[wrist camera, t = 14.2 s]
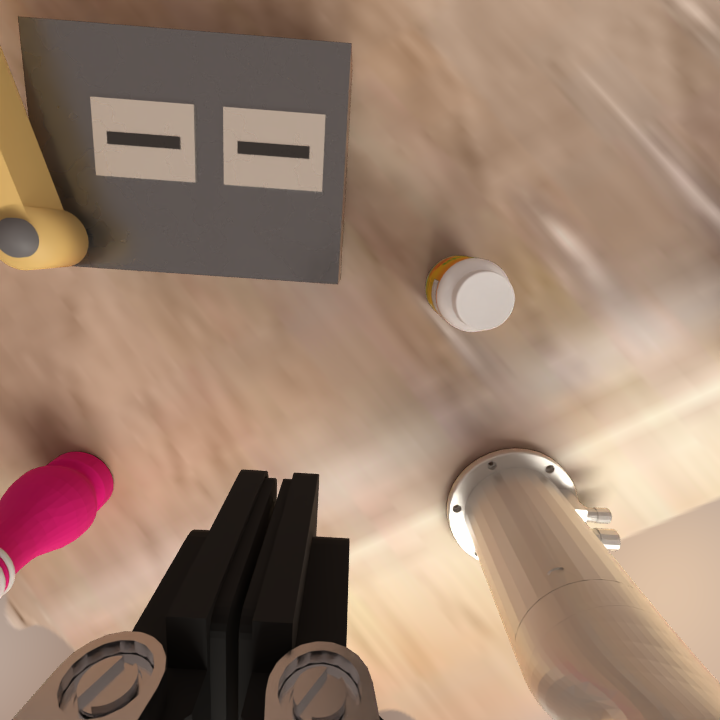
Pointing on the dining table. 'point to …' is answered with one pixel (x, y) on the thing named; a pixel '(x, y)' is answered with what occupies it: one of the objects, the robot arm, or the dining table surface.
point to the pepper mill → (49, 509)
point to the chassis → (194, 146)
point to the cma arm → (30, 194)
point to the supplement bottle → (470, 293)
